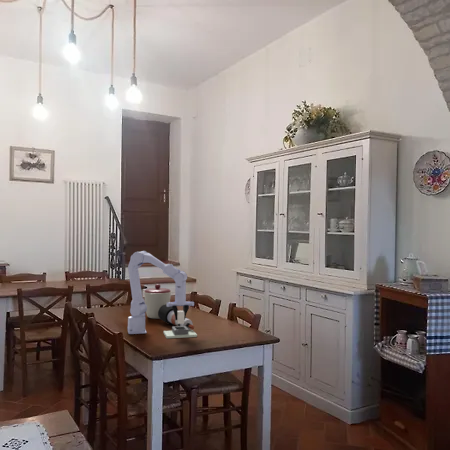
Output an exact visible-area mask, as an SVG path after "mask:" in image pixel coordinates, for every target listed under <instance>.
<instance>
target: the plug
mask: <svg viewBox="0 0 450 450" xmlns="http://www.w3.org/2000/svg"><path fill="white" fill-rule="evenodd" d="M176 322H177V323H178V324H184V311H183V310H179V311H177V320H176Z"/></svg>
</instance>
